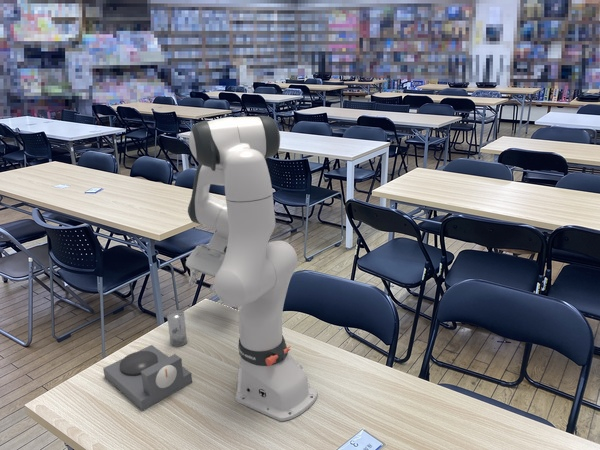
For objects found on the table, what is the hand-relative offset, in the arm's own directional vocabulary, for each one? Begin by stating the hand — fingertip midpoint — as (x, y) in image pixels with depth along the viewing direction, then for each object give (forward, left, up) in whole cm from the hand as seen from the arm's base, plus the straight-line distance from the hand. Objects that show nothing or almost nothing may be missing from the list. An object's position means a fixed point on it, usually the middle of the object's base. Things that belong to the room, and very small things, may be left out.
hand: (201, 287), depth 152 cm
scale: (-11, +27, -14) cm, 32 cm away
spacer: (-1, +11, -14) cm, 18 cm away
